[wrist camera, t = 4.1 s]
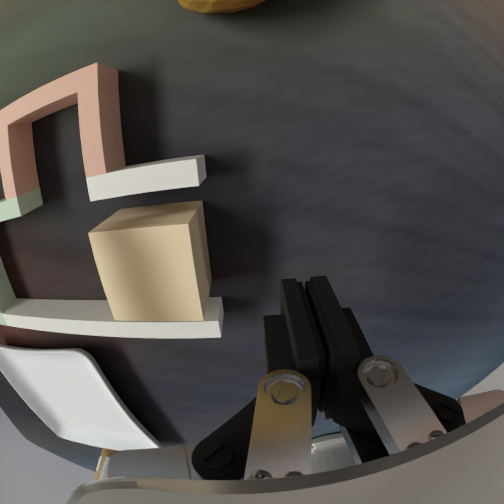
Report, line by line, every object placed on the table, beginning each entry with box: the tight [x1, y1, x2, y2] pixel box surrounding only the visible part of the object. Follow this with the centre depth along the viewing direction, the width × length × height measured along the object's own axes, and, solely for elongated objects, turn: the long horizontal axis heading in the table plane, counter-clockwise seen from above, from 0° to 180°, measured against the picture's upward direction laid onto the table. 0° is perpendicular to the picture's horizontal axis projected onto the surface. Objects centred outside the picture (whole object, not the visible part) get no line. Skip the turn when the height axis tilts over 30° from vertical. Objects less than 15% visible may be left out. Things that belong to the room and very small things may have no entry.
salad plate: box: [0, 344, 162, 451], centre depth 26 cm, size 21×21×3 cm
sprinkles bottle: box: [94, 448, 119, 480], centre depth 28 cm, size 5×5×13 cm
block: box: [88, 201, 212, 321], centre depth 17 cm, size 6×6×5 cm
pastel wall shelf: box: [0, 63, 224, 338], centre depth 17 cm, size 24×19×3 cm
